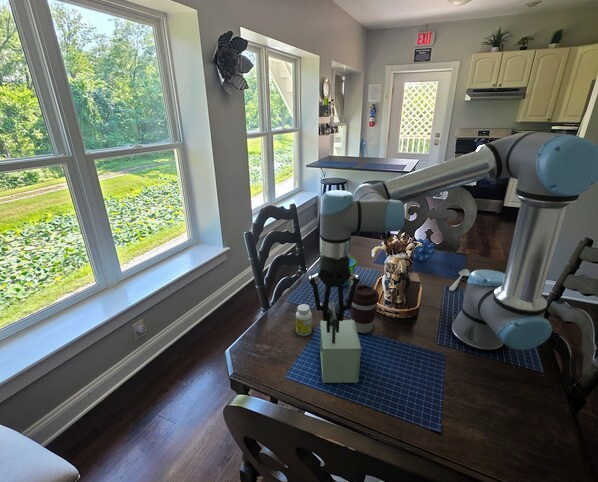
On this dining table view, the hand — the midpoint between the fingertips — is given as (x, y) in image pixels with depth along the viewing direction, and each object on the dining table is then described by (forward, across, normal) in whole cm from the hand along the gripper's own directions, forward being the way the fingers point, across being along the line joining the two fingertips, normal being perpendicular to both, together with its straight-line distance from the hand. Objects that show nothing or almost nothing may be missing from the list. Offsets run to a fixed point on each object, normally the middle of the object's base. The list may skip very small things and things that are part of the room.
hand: (332, 329), depth 89 cm
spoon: (+14, -59, -48) cm, 77 cm away
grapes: (+14, -50, -68) cm, 86 cm away
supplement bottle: (+14, +8, -16) cm, 23 cm away
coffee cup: (+14, -12, -18) cm, 26 cm away
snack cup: (+14, -9, -48) cm, 51 cm away
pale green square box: (+4, -7, 0) cm, 8 cm away
